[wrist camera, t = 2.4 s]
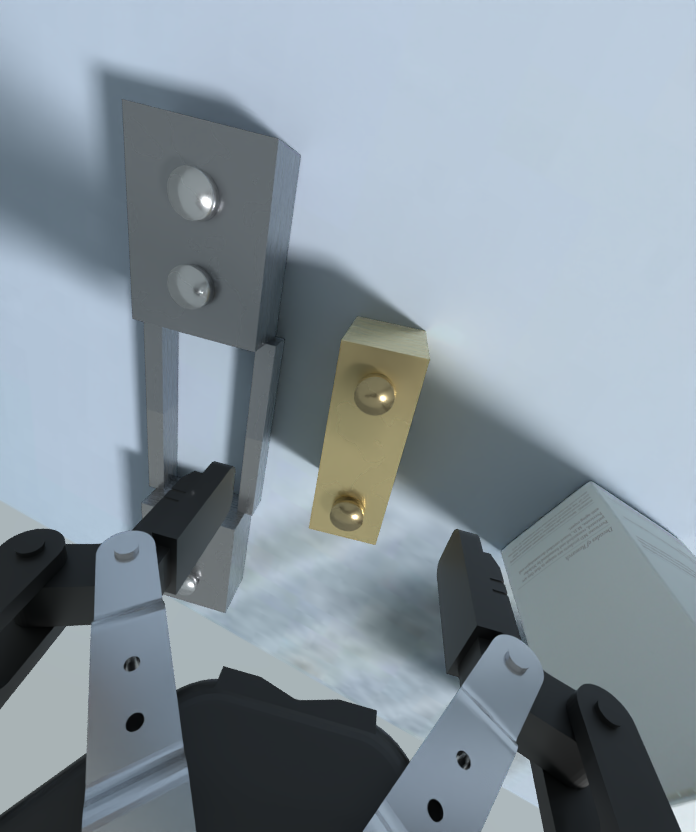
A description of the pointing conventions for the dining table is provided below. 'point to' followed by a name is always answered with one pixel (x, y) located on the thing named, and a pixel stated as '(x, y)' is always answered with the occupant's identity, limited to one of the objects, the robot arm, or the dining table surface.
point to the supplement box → (617, 622)
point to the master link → (367, 426)
